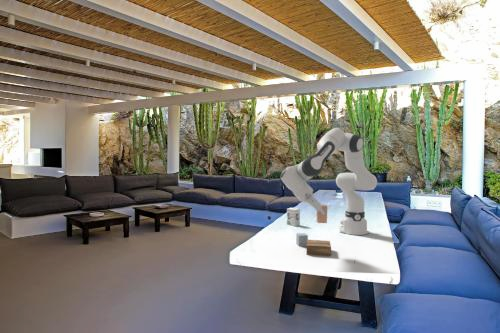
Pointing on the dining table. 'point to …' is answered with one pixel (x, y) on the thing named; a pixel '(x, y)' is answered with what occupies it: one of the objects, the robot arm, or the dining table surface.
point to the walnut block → (318, 248)
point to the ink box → (293, 216)
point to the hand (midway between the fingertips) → (323, 212)
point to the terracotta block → (321, 217)
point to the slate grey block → (301, 239)
